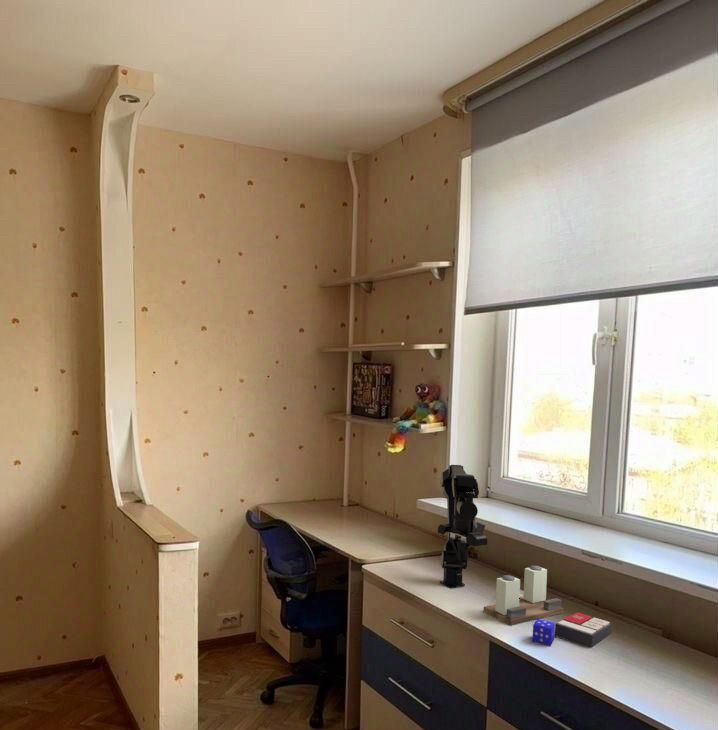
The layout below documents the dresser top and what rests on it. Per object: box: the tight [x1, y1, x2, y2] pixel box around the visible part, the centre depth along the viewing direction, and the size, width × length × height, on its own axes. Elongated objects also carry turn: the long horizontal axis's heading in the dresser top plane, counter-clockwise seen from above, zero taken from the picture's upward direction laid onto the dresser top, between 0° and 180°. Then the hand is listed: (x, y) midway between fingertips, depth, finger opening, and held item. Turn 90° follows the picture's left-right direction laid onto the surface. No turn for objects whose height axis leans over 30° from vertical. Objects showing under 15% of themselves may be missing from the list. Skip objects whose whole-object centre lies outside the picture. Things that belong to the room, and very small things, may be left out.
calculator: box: [554, 612, 612, 648], centre depth 185 cm, size 11×4×15 cm
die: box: [532, 619, 556, 647], centre depth 179 cm, size 5×5×5 cm
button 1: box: [495, 574, 521, 615], centre depth 195 cm, size 4×6×11 cm, turn 121°
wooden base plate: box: [482, 597, 565, 626], centre depth 200 cm, size 12×23×4 cm, turn 121°
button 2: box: [523, 564, 548, 603], centre depth 207 cm, size 4×6×11 cm, turn 122°
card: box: [520, 589, 524, 599], centre depth 215 cm, size 8×6×1 cm
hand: (460, 560), depth 208 cm, fingers closed
